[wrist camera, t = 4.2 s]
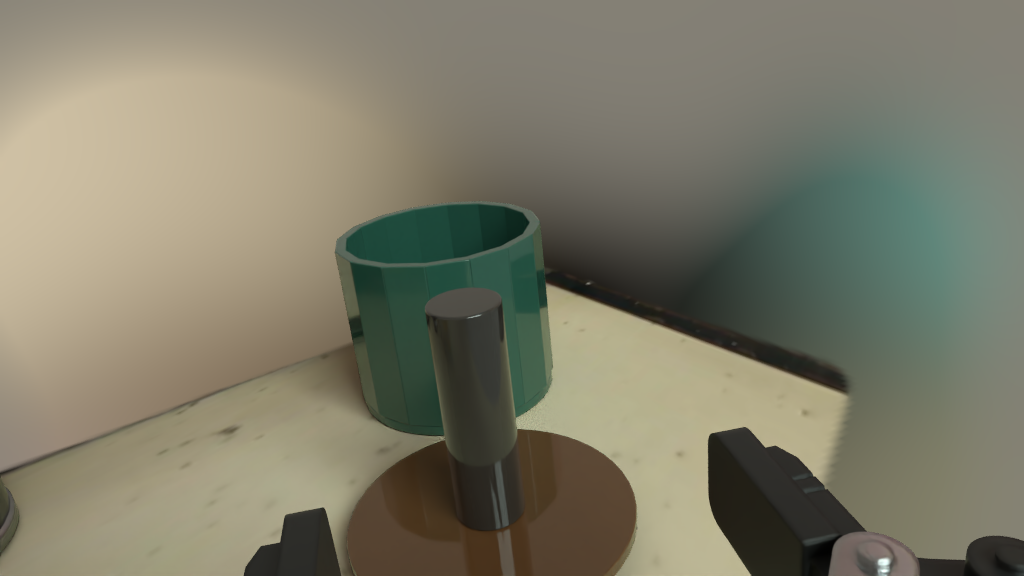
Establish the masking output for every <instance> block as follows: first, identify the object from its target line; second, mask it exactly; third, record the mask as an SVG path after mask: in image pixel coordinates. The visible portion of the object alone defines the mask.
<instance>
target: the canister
mask: <svg viewBox="0 0 1024 576" xmlns="http://www.w3.org/2000/svg"><path fill="white" fill-rule="evenodd" d="M541 240H542V239H541V228H540V222H539V220H538V219H537V217H536V216H535V215H534V213H533V212H532V211H530V210H527V209H524V208H521V207H518V206H515V205H512V204H506V203H494V202H485V201H482V202H481V201H474V202H450V203H441V204H434V205H427V206H420V207H413V208H409V209H405V210H401V211H397V212H394V213H389V214H385V215H382V216H379V217H376V218H374V219H372V220H369V221H367V222H364V223H362V224H359V225H357V226H355V227H353V228H351V229H350V230H349V231H348V232H346V233H345V234H344V235H342V236H341V237H340V238H339V239H337V242H336V250H335V255H336V260H337V265H338V270H339V275H340V280H341V285H342V290H343V295H344V299H345V305H346V310H347V315H348V319H349V324H350V330H351V334H352V340H353V345H354V350H355V355H356V360H357V365H358V370H359V375H360V380H361V385H362V390H363V395H364V399H365V401H366V403H367V406H368V408H369V411H370V412H371V413H372V415H373V416H374V417H375V418H376V419H378V420H379V421H380V422H382V423H383V424H385V425H387V426H389V427H391V428H394V429H396V430H400V431H404V432H408V433H414V434H421V435H444V430H443V424H442V417H441V411H440V405H439V398H438V392H437V386H436V379H435V373H434V366H433V360H432V354H431V347H430V341H429V335H428V328H427V322H426V316H425V305H426V303H427V302H428V301H429V300H430V299H431V298H433V297H435V296H437V295H439V294H441V293H444V292H447V291H450V290H455V289H461V288H486V289H490V290H493V291H495V292H497V293H498V294H499V295H500V296H501V298H502V303H503V312H504V321H505V329H506V338H507V347H508V356H509V364H510V373H511V382H512V390H513V399H514V408H515V417H518V416H520V415H522V414H523V413H525V412H527V411H528V410H530V409H531V408H532V407H534V406H535V405H536V404H537V403H538V402H539V401H540V400H541V399H542V398H543V397H544V396H545V394H546V393H547V392H548V390H549V387H550V385H551V381H552V368H553V361H552V350H551V339H550V328H549V317H548V306H547V295H546V284H545V273H544V262H543V251H542V241H541Z"/></svg>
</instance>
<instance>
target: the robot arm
mask: <svg viewBox="0 0 1024 576" xmlns="http://www.w3.org/2000/svg"><path fill="white" fill-rule="evenodd" d="M708 490H709V501H710V506H711V510H712V513H713V516H714V518H715V520H716V522H717V524H718V526H719V527H720V529H721V530H722V532H723V533H724V535H725V536H726V538H727V539H728V541H729V542H730V544H731V545H732V547H733V548H734V550H735V551H736V553H737V554H738V556H739V557H740V559H741V561H742V562H743V564H744V565H745V567H746V568H747V570H748V571H749V573H750V574H751V576H1024V541H1022V540H1019V539H1015V538H1010V537H1004V536H988V537H987V536H986V537H982V538H979V539H976V540H975V541H973V542H972V543H971V544H970V545H969V546H968V549H967V554H966V560H945V559H924V558H917V557H916V556H915V554H914V553H913V552H912V551H911V550H910V549H909V548H908V547H907V546H906V545H904V544H903V543H901V542H900V541H898V540H896V539H893V538H891V537H888V536H886V535H883V534H879V533H874V532H867V531H866V530H865V529H864V528H863V527H862V526H861V525H860V524H859V523H858V522H857V520H856V519H855V518H854V517H852V515H851V514H850V513H849V512H848V511H847V510H846V509H845V508H844V507H843V506H842V504H840V502H839V501H838V500H837V499H836V498H835V497H834V496H833V495H832V494H831V493H830V492H829V491H828V489H826V490H825V488H824V485H823V484H822V483H821V482H820V481H819V480H818V479H817V478H816V477H813V474H812V472H811V471H810V470H809V469H808V468H807V467H806V466H805V465H804V464H803V463H802V462H801V461H800V460H799V458H797V457H796V456H794V455H792V454H790V453H788V452H786V451H784V450H783V449H781V448H779V447H777V446H772V447H767V448H765V447H764V446H763V445H762V443H761V442H760V441H759V440H758V439H757V438H756V437H755V435H754V434H753V433H752V432H751V431H750V430H749V429H748V428H746V427H743V428H738V429H732V430H727V431H722V432H717V433H712V434H710V436H709V440H708ZM18 521H19V513H18V509H17V506H16V504H15V502H14V499H13V497H12V495H11V493H10V491H9V490H8V489H7V488H6V487H5V486H4V483H3V481H2V479H1V476H0V553H1V552H2V551H3V550H4V548H5V547H6V546H7V544H8V543H9V542H10V540H11V538H12V537H13V535H14V533H15V530H16V528H17V525H18ZM244 576H341V573H340V568H339V563H338V559H337V555H336V551H335V547H334V543H333V538H332V534H331V530H330V526H329V522H328V518H327V514H326V511H325V509H324V508H318V509H313V510H308V511H303V512H297V513H292V514H287V515H286V516H285V518H284V523H283V529H282V535H281V541H280V543H275V544H270V545H265V546H261V547H260V548H259V549H258V551H257V552H256V554H255V555H254V556H253V558H252V559H251V560H250V562H249V563H248V565H247V566H246V568H245V572H244Z"/></svg>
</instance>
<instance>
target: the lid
mask: <svg viewBox="0 0 1024 576" xmlns="http://www.w3.org/2000/svg"><path fill="white" fill-rule="evenodd" d="M425 316H426V322H427V328H428V335H429V341H430V347H431V354H432V360H433V366H434V373H435V379H436V386H437V392H438V398H439V405H440V411H441V417H442V424H443V430H444V436H445V440H443V441H440V442H438V443H435V444H433V445H430V446H427V447H425V448H423V449H421V450H419V451H417V452H415V453H413V454H411V455H409V456H408V457H406V458H404V459H402V460H401V461H399V462H398V463H396V464H395V465H393V466H392V467H391V468H389V469H388V470H387V471H385V472H384V473H383V474H382V475H381V476H380V477H378V478H377V479H376V480H375V481H374V482H373V484H372V485H371V486H370V487H369V488H368V489H367V490H366V492H365V493H364V494H363V496H362V497H361V499H360V500H359V502H358V503H357V505H356V507H355V509H354V511H353V513H352V516H351V519H350V522H349V526H348V533H347V552H348V556H349V560H350V564H351V567H352V571H353V574H354V576H615V574H616V573H617V572H618V571H619V570H620V568H621V567H622V565H623V564H624V562H625V560H626V559H627V557H628V555H629V553H630V551H631V548H632V546H633V543H634V540H635V535H636V530H637V506H636V501H635V496H634V493H633V490H632V488H631V485H630V483H629V481H628V480H627V478H626V477H625V475H624V474H623V472H622V471H621V470H620V469H619V468H618V467H617V465H616V464H615V463H614V462H613V461H611V460H610V459H609V458H608V457H606V456H605V455H604V454H602V453H601V452H599V451H598V450H596V449H594V448H593V447H591V446H589V445H587V444H584V443H582V442H580V441H578V440H575V439H572V438H569V437H566V436H562V435H558V434H554V433H549V432H543V431H536V430H523V429H517V425H516V417H515V408H514V399H513V390H512V382H511V373H510V364H509V356H508V347H507V338H506V329H505V321H504V312H503V303H502V298H501V296H500V295H499V294H498V293H497V292H495V291H493V290H490V289H486V288H461V289H455V290H450V291H447V292H444V293H441V294H439V295H437V296H435V297H433V298H431V299H430V300H429V301H428V302H427V303H426V305H425Z"/></svg>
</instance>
